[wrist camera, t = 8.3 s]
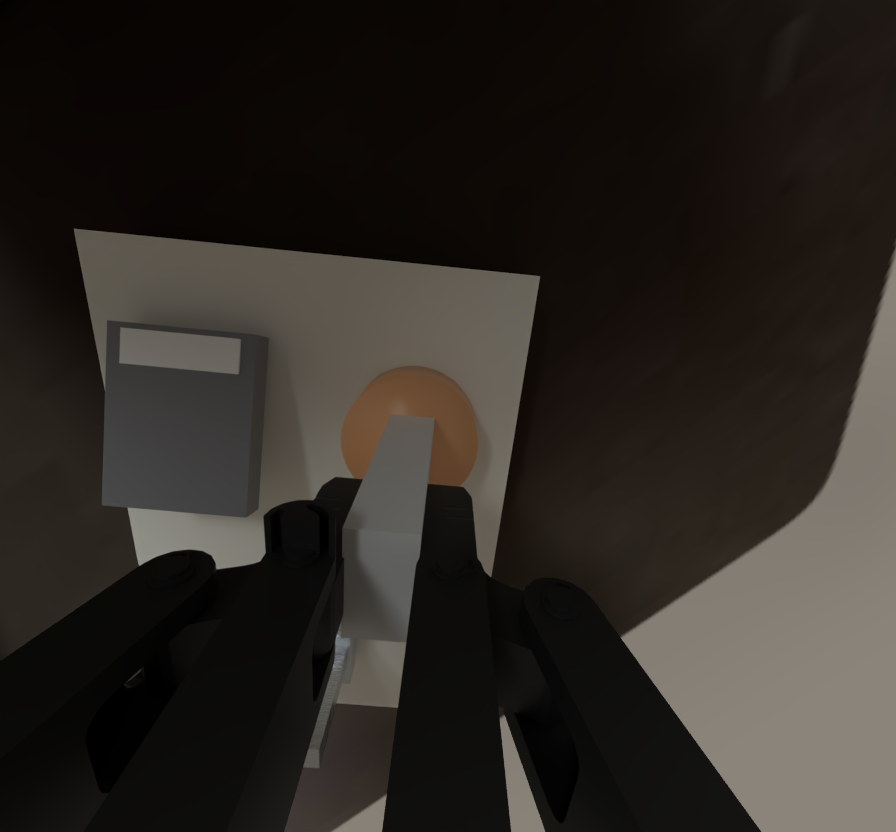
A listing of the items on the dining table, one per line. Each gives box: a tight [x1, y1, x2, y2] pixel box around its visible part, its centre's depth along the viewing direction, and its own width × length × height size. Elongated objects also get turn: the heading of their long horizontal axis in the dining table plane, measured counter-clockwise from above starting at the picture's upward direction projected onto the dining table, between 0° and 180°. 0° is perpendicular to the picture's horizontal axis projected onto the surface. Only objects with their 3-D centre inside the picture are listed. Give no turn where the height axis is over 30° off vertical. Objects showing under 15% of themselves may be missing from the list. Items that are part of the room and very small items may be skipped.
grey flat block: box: [102, 320, 269, 518], centre depth 15 cm, size 6×5×1 cm
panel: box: [74, 229, 540, 708], centre depth 19 cm, size 22×16×4 cm
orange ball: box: [341, 366, 478, 487], centre depth 17 cm, size 5×5×5 cm
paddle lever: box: [303, 623, 356, 768], centre depth 17 cm, size 3×4×5 cm
